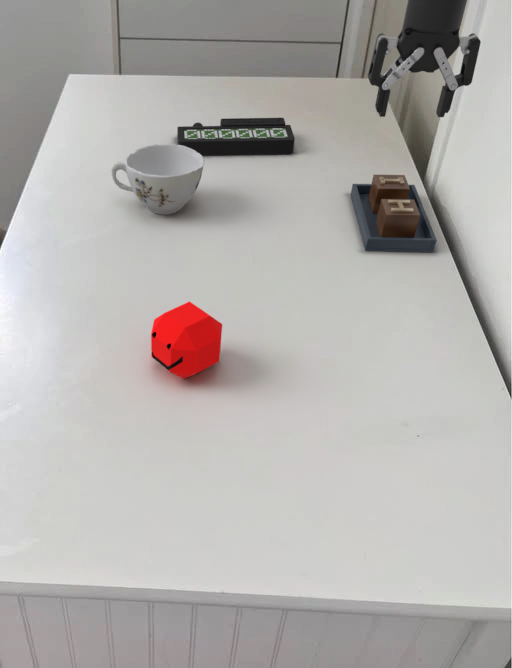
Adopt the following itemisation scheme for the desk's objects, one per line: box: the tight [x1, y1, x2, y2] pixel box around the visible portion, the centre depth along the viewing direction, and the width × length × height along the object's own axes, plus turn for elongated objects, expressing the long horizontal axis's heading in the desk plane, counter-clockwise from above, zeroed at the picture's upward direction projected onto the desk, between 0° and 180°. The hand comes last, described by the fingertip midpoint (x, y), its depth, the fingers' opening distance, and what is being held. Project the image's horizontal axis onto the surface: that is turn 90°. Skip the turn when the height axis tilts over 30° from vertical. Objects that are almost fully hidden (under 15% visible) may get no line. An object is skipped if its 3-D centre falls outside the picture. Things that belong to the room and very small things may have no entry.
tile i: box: [368, 174, 410, 214], centre depth 116 cm, size 5×5×4 cm
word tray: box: [350, 183, 437, 253], centre depth 114 cm, size 10×18×2 cm, turn 176°
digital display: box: [176, 117, 296, 156], centre depth 135 cm, size 21×3×10 cm
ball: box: [150, 301, 223, 380], centre depth 88 cm, size 8×8×8 cm
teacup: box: [111, 143, 205, 216], centre depth 117 cm, size 15×12×8 cm
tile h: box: [376, 199, 420, 238], centre depth 110 cm, size 5×5×4 cm
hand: (410, 115), depth 107 cm, fingers open, 8 cm apart
